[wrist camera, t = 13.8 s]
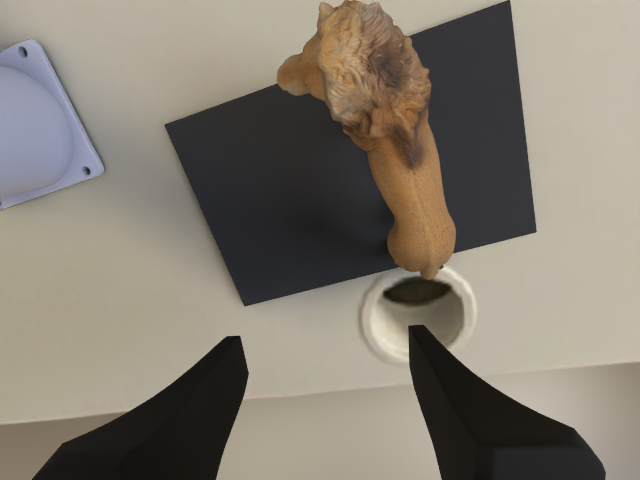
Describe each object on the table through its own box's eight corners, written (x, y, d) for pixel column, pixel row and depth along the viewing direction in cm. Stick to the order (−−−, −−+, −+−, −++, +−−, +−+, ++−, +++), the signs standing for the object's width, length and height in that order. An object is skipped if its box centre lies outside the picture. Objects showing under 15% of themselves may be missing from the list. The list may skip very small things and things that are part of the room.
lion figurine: (287, 74, 19) (243, 41, 11) (372, 16, 18) (399, -73, 9) (403, 281, 23) (439, 377, 14) (479, 244, 22) (567, 326, 13)
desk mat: (245, 303, 25) (244, 306, 24) (167, 124, 21) (163, 124, 20) (533, 230, 22) (537, 232, 21) (506, 1, 18) (510, -1, 17)
